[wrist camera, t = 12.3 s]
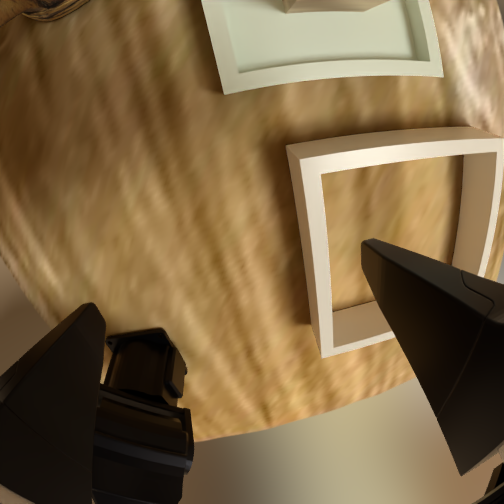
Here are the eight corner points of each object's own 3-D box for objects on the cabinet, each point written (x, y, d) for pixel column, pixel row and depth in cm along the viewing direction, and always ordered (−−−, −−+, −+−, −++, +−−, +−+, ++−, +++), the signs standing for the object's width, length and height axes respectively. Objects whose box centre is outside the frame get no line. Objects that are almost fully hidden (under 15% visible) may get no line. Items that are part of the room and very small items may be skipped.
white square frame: (311, 325, 26) (321, 358, 23) (285, 145, 18) (299, 159, 15) (454, 282, 26) (474, 306, 22) (471, 126, 17) (504, 138, 14)
